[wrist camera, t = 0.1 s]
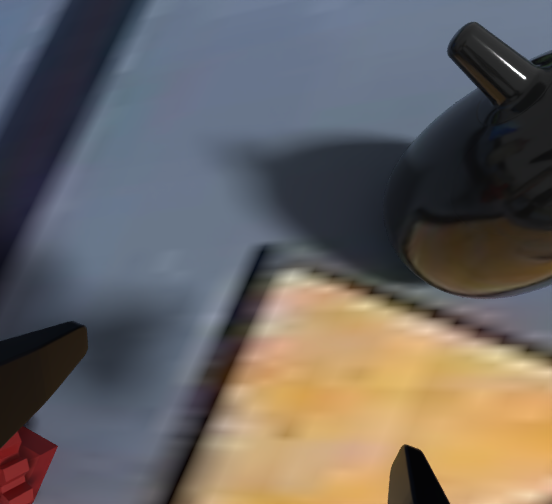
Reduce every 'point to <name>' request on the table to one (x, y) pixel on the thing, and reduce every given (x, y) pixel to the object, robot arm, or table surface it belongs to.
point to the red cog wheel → (24, 466)
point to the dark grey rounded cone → (480, 178)
